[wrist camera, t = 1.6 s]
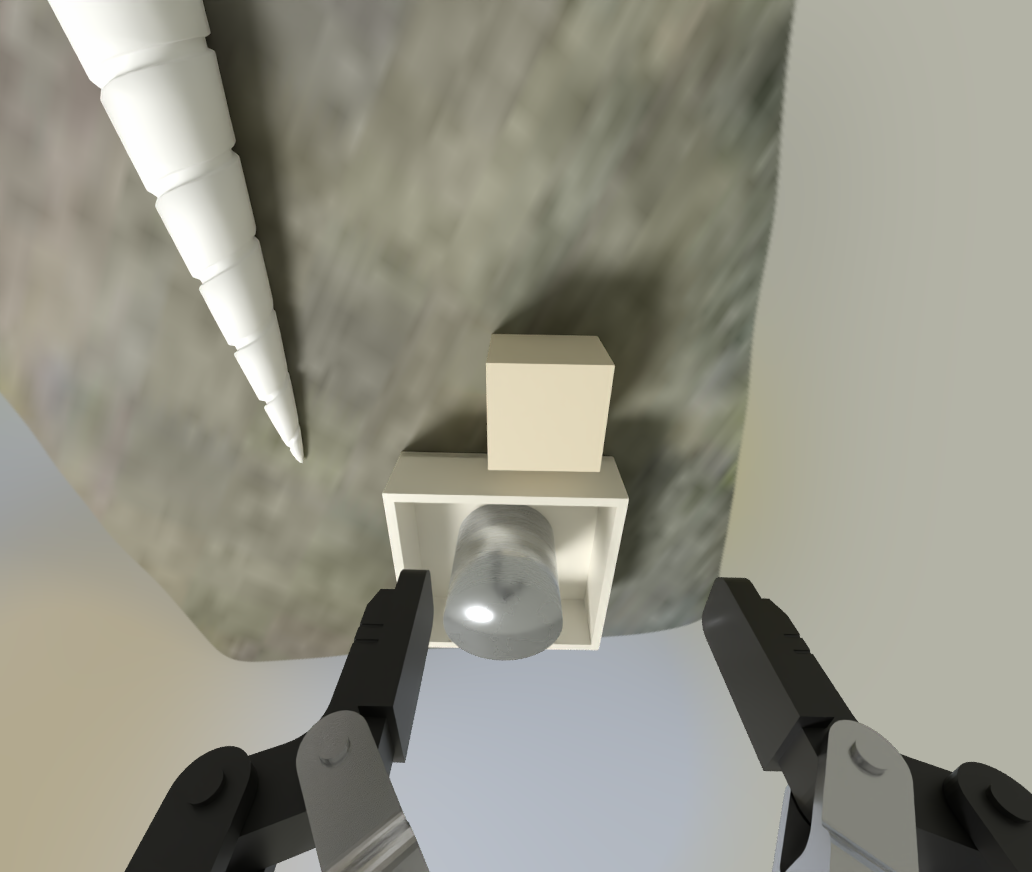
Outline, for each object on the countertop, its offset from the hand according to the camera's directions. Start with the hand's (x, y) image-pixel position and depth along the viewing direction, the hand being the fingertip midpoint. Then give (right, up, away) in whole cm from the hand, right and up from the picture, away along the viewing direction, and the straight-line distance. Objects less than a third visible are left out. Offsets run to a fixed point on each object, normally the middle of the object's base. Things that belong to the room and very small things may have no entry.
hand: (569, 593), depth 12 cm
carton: (0, +8, +13) cm, 15 cm away
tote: (-2, -3, +19) cm, 19 cm away
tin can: (-2, -3, +19) cm, 19 cm away
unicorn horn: (-16, +14, +10) cm, 23 cm away
